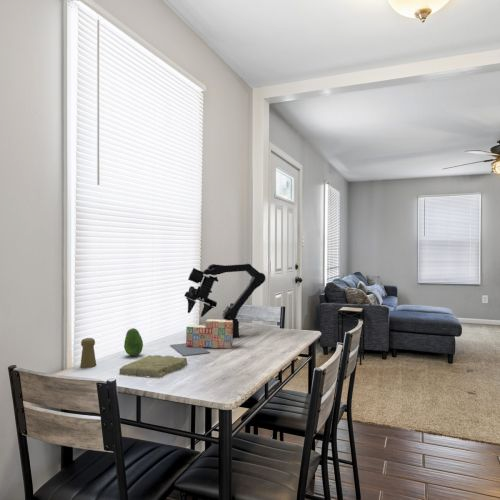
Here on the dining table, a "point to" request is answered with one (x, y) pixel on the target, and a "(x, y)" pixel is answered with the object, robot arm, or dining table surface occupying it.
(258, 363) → the dining table surface
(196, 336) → the stack of blocks
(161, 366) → the decorative tile
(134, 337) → the avocado
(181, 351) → the mat
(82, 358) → the cork
